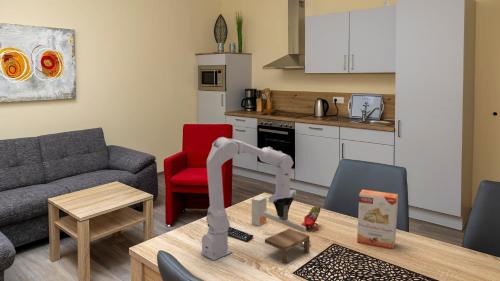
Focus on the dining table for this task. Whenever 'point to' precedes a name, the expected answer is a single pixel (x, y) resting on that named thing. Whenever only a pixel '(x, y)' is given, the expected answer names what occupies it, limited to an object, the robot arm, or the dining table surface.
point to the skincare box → (258, 210)
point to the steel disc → (303, 244)
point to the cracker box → (377, 218)
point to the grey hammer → (285, 219)
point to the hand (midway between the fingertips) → (282, 215)
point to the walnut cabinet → (288, 242)
